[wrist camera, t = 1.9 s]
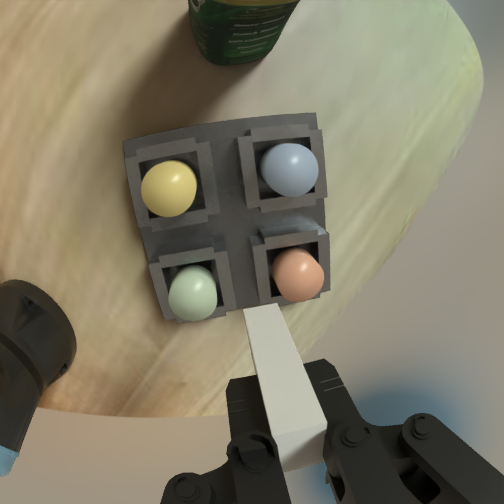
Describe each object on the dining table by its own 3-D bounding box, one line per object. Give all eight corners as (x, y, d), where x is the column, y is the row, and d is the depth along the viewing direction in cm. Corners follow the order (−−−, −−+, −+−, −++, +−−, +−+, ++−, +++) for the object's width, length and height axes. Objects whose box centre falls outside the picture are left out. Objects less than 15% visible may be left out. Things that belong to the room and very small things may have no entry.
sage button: (177, 307, 29) (175, 324, 26) (166, 268, 28) (162, 283, 25) (219, 300, 30) (221, 316, 27) (211, 261, 28) (212, 274, 25)
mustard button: (153, 213, 25) (147, 221, 23) (144, 165, 24) (136, 168, 21) (200, 204, 26) (200, 211, 23) (192, 155, 24) (190, 157, 21)
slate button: (262, 194, 26) (269, 200, 24) (256, 146, 25) (262, 146, 22) (308, 188, 27) (320, 193, 24) (304, 141, 25) (315, 141, 22)
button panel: (166, 315, 33) (163, 334, 30) (125, 141, 26) (113, 141, 22) (324, 287, 35) (336, 303, 31) (312, 113, 27) (326, 110, 24)
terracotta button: (273, 291, 30) (280, 306, 27) (269, 251, 28) (276, 263, 26) (314, 283, 30) (324, 296, 28) (312, 243, 29) (323, 255, 26)
